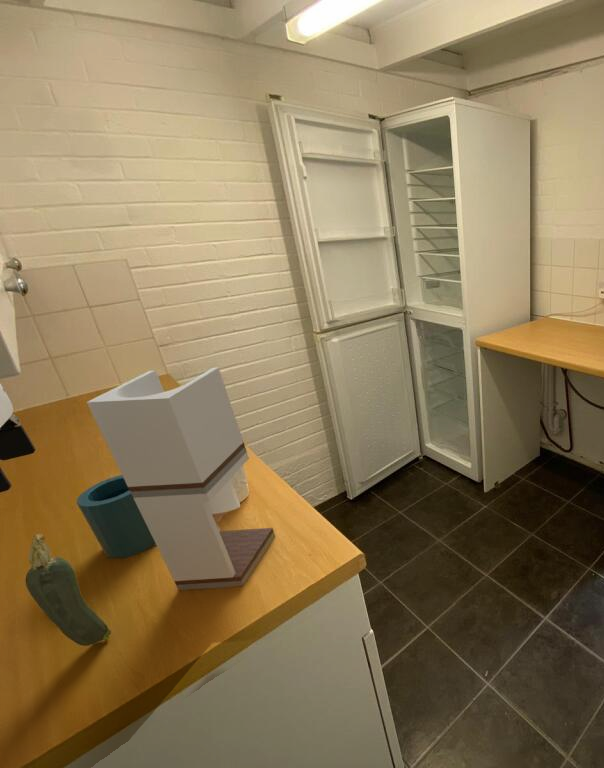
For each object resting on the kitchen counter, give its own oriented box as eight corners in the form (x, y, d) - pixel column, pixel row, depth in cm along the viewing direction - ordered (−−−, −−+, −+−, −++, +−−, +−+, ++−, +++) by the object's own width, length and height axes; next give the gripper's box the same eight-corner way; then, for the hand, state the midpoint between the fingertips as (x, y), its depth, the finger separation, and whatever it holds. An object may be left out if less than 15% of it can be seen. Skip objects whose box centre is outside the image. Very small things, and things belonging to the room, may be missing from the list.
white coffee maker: (243, 585, 70) (168, 398, 56) (178, 590, 70) (86, 402, 56) (275, 536, 80) (218, 367, 66) (218, 539, 80) (149, 370, 66)
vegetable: (90, 662, 59) (17, 556, 51) (65, 657, 60) (-10, 552, 51) (121, 632, 63) (59, 530, 55) (98, 628, 64) (33, 527, 55)
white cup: (238, 483, 96) (225, 446, 92) (260, 492, 93) (247, 454, 89) (202, 503, 90) (187, 465, 86) (225, 514, 87) (209, 474, 83)
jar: (96, 565, 75) (66, 513, 70) (116, 531, 83) (90, 481, 78) (162, 547, 79) (137, 496, 74) (174, 516, 87) (153, 467, 82)
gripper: (-91, 330, 49) (-12, 453, 56) (-194, 372, 36) (-75, 526, 43) (1, 319, 53) (64, 435, 60) (-62, 353, 40) (28, 497, 47)
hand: (6, 473), depth 51 cm, fingers open, 9 cm apart
